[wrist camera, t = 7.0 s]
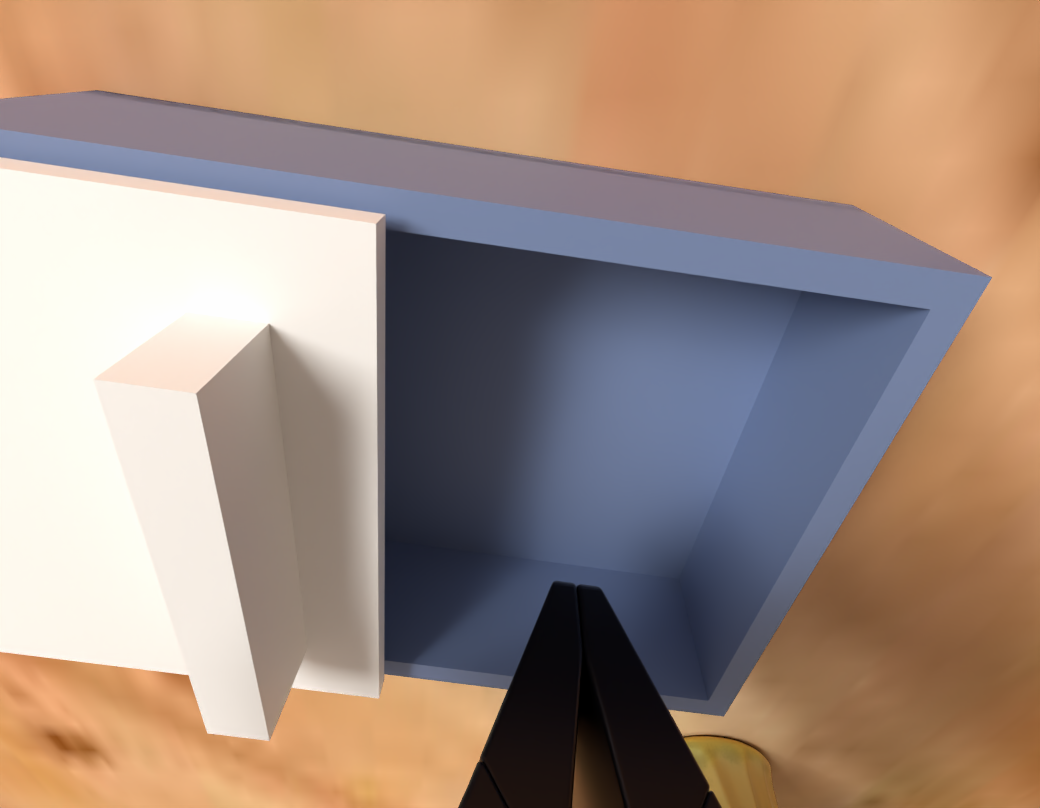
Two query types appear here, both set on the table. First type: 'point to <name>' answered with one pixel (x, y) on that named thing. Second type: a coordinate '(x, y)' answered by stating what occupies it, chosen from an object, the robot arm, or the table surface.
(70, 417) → the lid
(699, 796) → the robot arm
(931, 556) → the table surface
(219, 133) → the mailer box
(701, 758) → the vase
